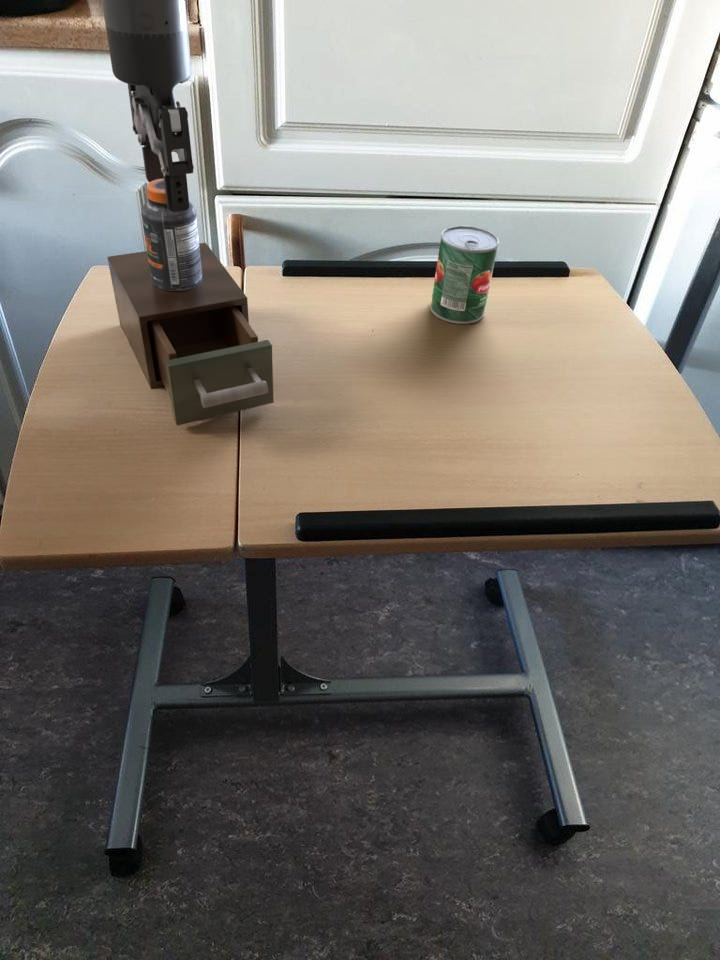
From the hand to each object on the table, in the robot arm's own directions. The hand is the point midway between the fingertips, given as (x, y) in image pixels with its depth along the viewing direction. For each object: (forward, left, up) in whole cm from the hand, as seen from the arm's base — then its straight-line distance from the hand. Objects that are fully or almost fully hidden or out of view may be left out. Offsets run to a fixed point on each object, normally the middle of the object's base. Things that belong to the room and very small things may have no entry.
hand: (167, 195), depth 77 cm
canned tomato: (+39, -4, -20) cm, 44 cm away
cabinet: (0, +1, -20) cm, 20 cm away
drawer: (0, -11, -19) cm, 22 cm away
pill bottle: (0, 0, -10) cm, 10 cm away
